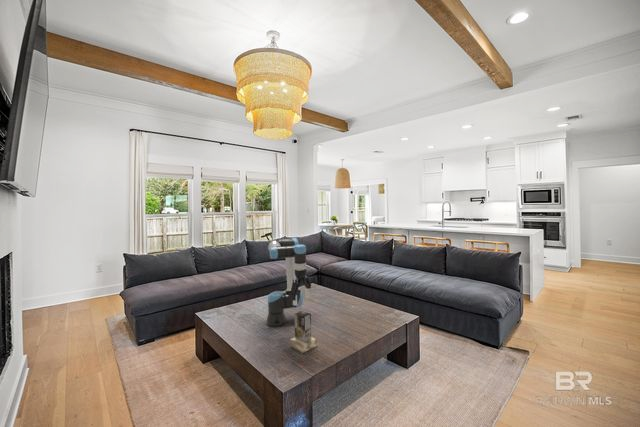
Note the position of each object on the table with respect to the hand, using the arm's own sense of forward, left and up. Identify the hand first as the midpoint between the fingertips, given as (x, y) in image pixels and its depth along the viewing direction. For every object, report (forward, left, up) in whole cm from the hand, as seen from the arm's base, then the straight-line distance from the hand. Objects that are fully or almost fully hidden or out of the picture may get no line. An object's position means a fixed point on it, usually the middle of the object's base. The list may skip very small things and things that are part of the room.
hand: (301, 301), depth 182 cm
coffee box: (0, +1, -24) cm, 24 cm away
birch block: (+1, +1, -29) cm, 29 cm away
